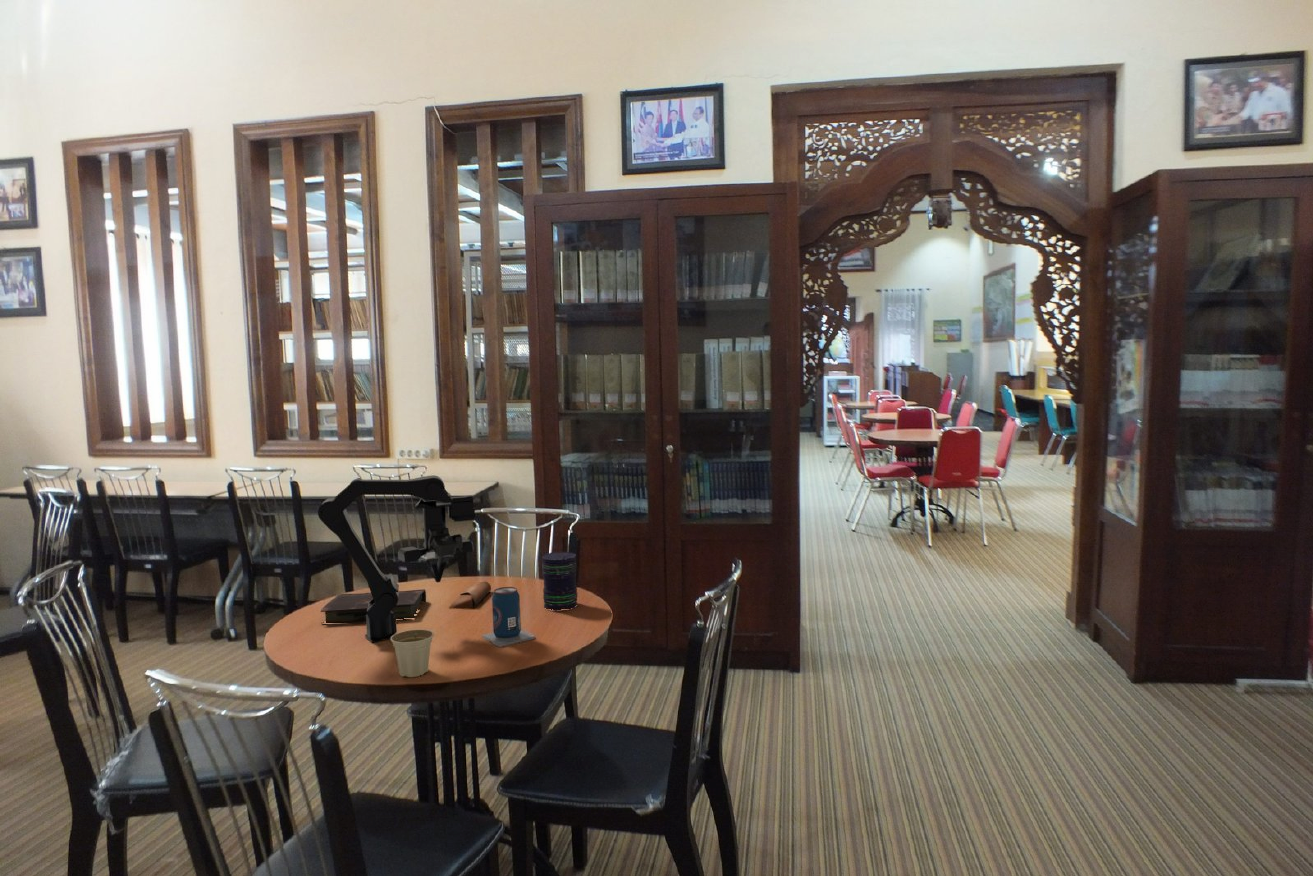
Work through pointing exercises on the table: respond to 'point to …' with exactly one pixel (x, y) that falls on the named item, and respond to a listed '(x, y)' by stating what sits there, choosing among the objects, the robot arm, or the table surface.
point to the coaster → (500, 642)
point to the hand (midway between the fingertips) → (438, 582)
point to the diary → (356, 605)
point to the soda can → (506, 613)
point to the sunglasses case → (471, 596)
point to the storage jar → (559, 580)
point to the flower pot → (412, 651)
